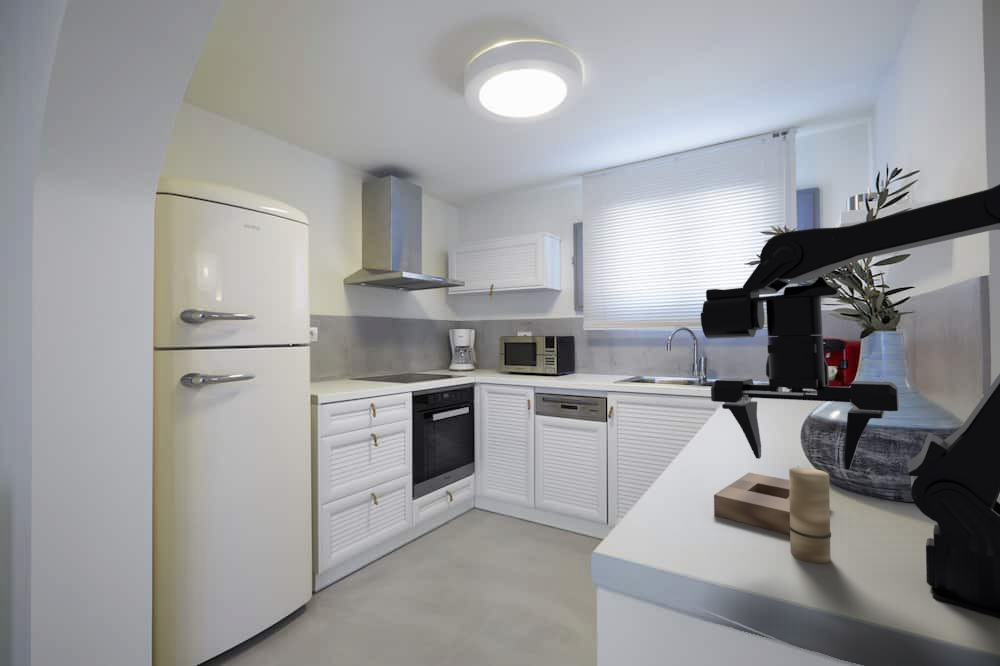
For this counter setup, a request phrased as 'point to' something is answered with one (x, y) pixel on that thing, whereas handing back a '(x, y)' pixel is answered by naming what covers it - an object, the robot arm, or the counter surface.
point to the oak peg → (809, 515)
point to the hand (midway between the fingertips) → (800, 463)
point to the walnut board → (756, 502)
